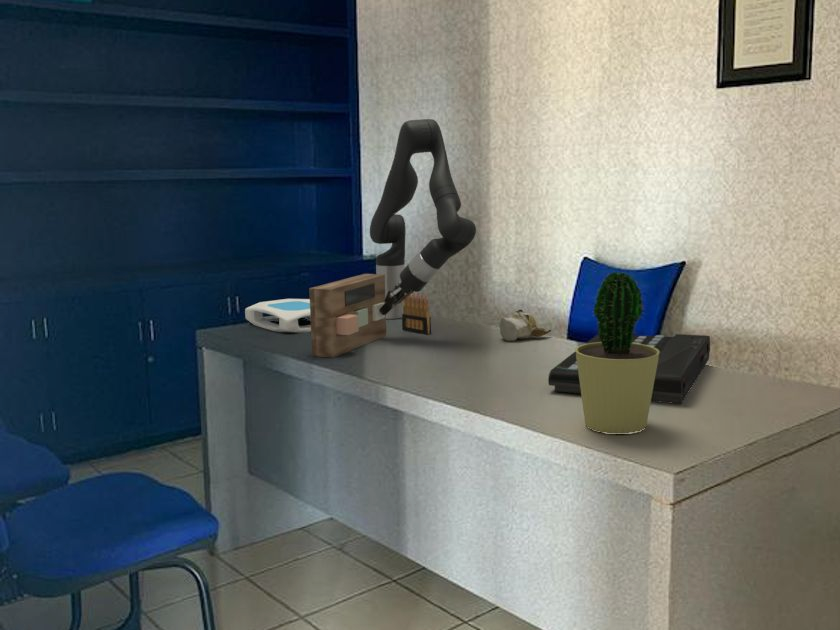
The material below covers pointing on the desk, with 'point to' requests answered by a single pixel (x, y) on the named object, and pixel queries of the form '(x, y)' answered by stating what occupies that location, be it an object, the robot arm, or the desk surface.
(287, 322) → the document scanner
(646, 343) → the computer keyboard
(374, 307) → the cream key
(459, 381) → the desk surface
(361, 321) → the sage key
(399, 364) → the desk surface
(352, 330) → the terracotta key
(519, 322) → the ceramic sculpture
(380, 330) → the keypad console
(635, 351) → the potted cactus
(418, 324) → the ammunition clip
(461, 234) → the robot arm
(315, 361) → the desk surface
